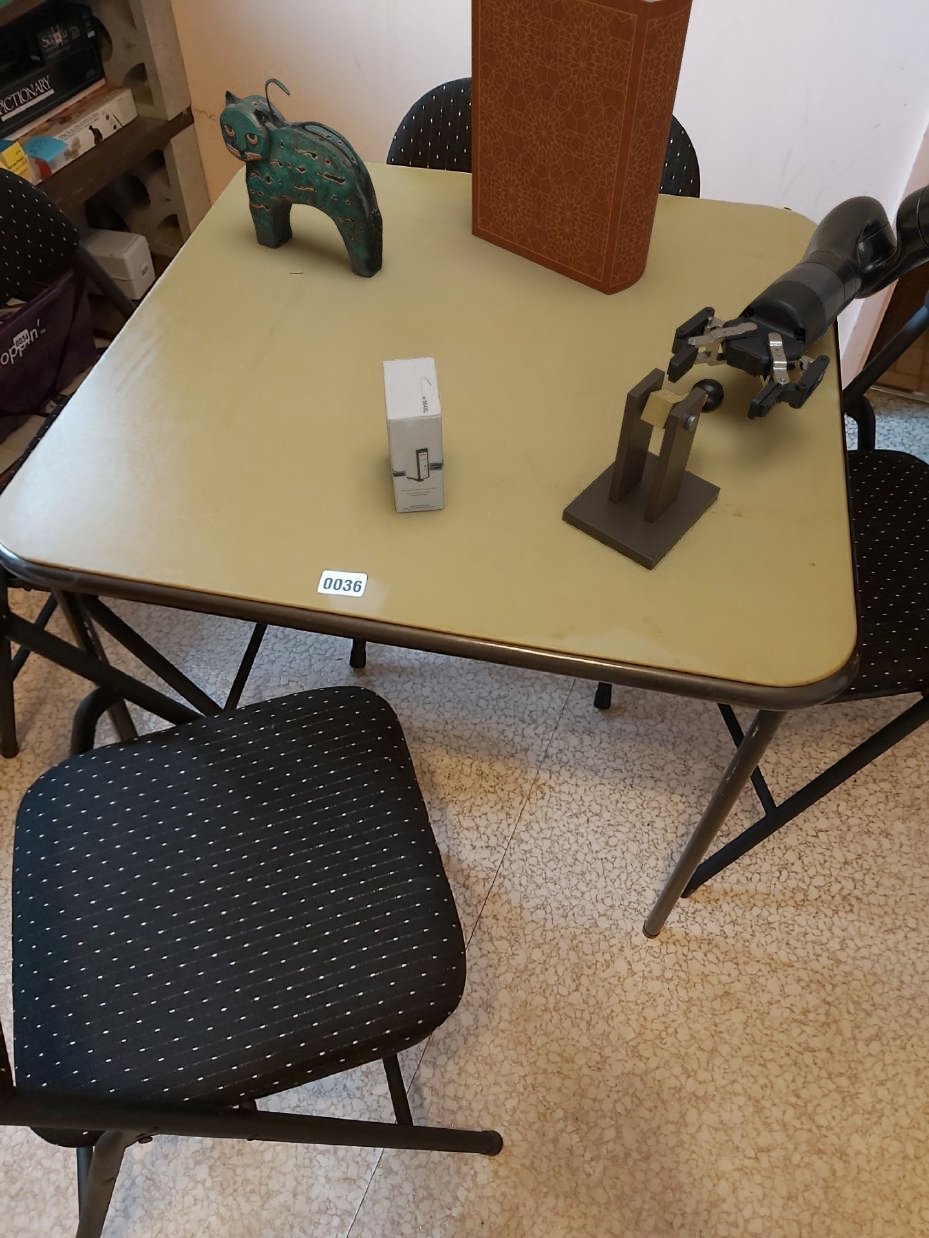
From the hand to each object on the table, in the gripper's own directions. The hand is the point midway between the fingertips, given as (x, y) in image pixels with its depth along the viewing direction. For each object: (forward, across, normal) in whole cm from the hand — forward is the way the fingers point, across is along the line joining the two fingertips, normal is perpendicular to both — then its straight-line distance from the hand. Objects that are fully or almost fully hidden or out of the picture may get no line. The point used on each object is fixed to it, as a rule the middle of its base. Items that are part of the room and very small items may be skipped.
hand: (711, 393), depth 79 cm
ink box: (+21, -19, +8) cm, 29 cm away
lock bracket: (+10, 0, +8) cm, 13 cm away
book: (-22, -33, +8) cm, 41 cm away
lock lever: (+6, 0, -1) cm, 6 cm away
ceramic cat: (-2, -57, +8) cm, 58 cm away
